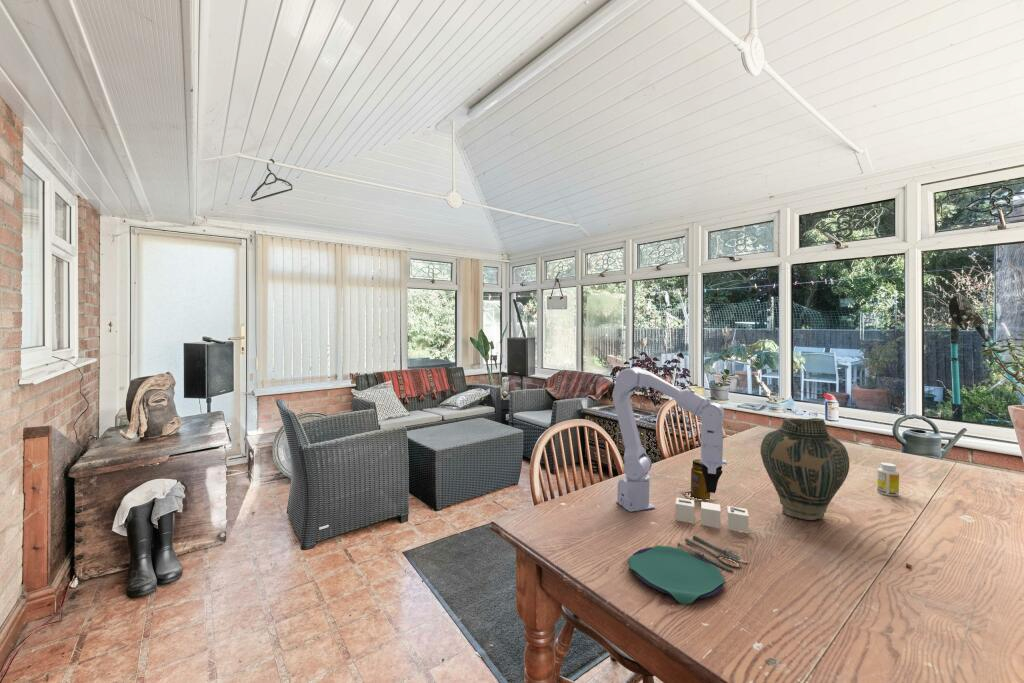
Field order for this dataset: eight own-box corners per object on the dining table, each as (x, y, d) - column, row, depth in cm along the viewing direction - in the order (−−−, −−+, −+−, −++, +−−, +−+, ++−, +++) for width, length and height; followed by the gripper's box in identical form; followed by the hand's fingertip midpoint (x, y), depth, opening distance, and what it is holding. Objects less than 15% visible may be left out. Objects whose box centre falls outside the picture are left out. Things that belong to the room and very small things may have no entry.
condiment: (716, 500, 137) (716, 464, 137) (692, 501, 136) (692, 465, 136) (703, 491, 144) (703, 457, 144) (680, 492, 143) (680, 458, 143)
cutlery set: (611, 568, 97) (611, 559, 97) (689, 537, 114) (689, 528, 113) (686, 619, 81) (687, 607, 81) (765, 573, 97) (765, 563, 97)
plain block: (720, 528, 117) (720, 511, 117) (701, 525, 119) (701, 508, 119) (719, 521, 122) (719, 504, 122) (700, 518, 124) (701, 501, 124)
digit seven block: (748, 533, 114) (748, 515, 114) (728, 530, 116) (728, 511, 116) (746, 526, 119) (746, 508, 119) (727, 522, 121) (727, 505, 121)
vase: (866, 535, 113) (869, 427, 113) (776, 527, 118) (778, 422, 117) (823, 503, 135) (825, 411, 134) (748, 497, 140) (750, 408, 139)
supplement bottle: (900, 494, 143) (900, 464, 143) (897, 498, 140) (897, 468, 139) (878, 489, 147) (879, 460, 147) (875, 493, 144) (876, 463, 144)
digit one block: (693, 523, 120) (694, 505, 120) (675, 520, 122) (675, 502, 122) (694, 516, 125) (694, 499, 125) (676, 513, 127) (676, 496, 127)
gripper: (728, 452, 112) (727, 502, 112) (725, 440, 125) (725, 484, 125) (700, 449, 115) (699, 498, 115) (700, 437, 128) (699, 481, 128)
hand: (710, 490), depth 120 cm, fingers closed
